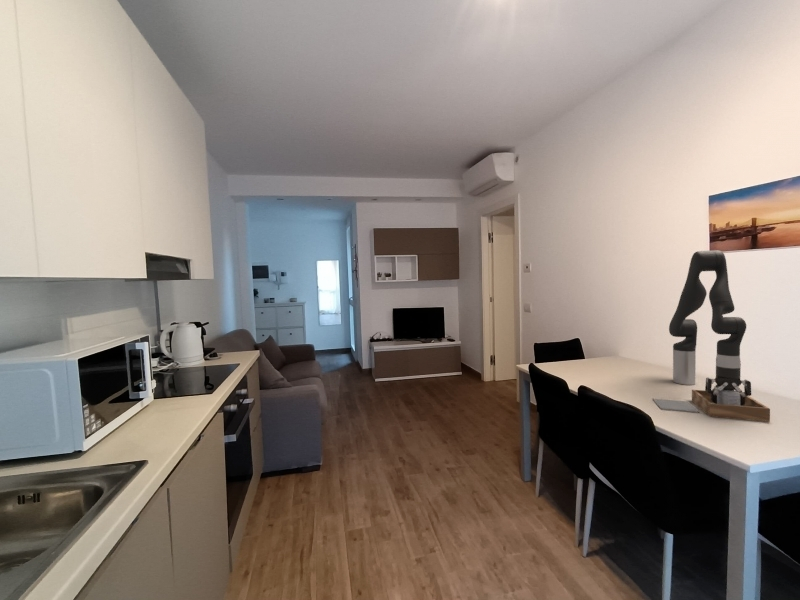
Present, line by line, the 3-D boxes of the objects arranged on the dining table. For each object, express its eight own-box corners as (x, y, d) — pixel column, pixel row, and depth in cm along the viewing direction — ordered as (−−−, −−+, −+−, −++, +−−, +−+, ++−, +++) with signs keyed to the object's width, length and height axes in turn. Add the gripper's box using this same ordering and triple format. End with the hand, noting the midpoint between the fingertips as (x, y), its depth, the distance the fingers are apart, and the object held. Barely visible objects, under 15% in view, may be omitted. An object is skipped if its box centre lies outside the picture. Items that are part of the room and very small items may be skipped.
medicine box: (740, 414, 145) (740, 392, 144) (727, 413, 146) (728, 392, 145) (727, 407, 152) (727, 387, 152) (715, 406, 153) (715, 386, 153)
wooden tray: (691, 400, 162) (691, 389, 161) (743, 404, 155) (743, 392, 154) (710, 416, 143) (710, 404, 143) (769, 421, 136) (770, 408, 136)
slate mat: (652, 399, 164) (652, 398, 164) (687, 402, 159) (687, 401, 159) (661, 409, 152) (661, 408, 152) (699, 412, 147) (699, 411, 147)
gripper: (745, 364, 149) (745, 402, 150) (702, 362, 154) (702, 399, 155) (755, 368, 142) (754, 409, 143) (710, 366, 147) (709, 405, 148)
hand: (727, 404), depth 149 cm, fingers open, 8 cm apart
